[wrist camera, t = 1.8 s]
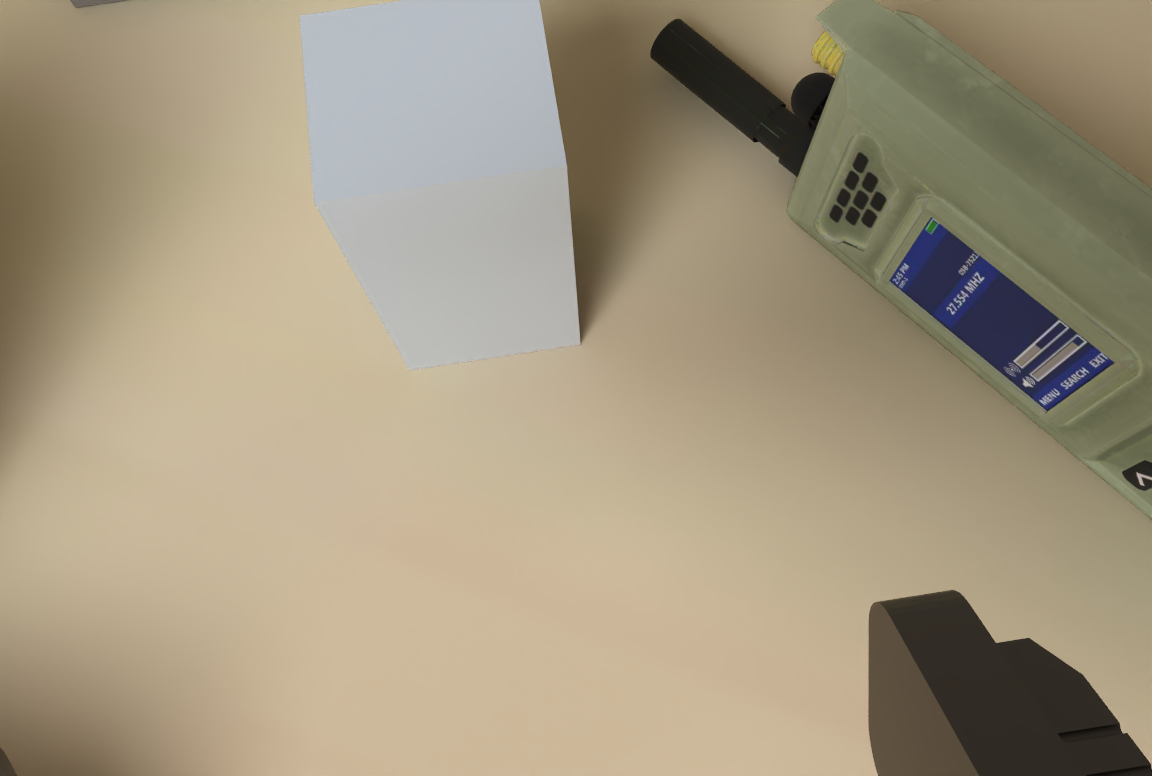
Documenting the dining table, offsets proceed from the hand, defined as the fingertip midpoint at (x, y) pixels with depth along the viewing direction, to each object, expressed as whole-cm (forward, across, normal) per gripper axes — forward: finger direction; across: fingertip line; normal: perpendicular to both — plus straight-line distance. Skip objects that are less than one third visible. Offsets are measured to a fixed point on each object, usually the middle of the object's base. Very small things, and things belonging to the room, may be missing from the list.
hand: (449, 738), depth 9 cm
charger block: (+18, 0, +3) cm, 19 cm away
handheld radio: (+16, -13, +6) cm, 22 cm away
